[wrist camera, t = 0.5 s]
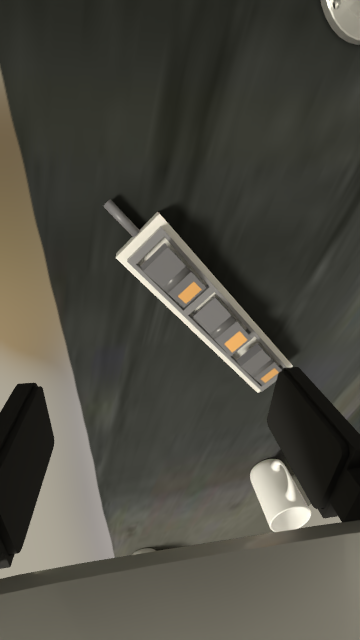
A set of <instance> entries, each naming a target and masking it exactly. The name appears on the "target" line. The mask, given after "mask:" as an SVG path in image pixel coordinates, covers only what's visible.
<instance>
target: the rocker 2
mask: <svg viewBox="0 0 360 640" xmlns="http://www.w3.org/2000/svg"><path fill="white" fill-rule="evenodd" d="M193 317H194V319H195V320H196V321H197V322H198V323H199V324H200V325H201V326H202V327H203V328H204V329H205V330H206V331H207V332H208V333H209V334H210V336H211V337H212V338H213V339H214V340H215V341H216V342H217V343H218V344H219V345H220V346H221V347H222V348H223V349H224V350H225V351H226V353H227V354H228V355H229V356H230V357H231V356H232V355H233V354H234V353H236V352H237V351H238V350H239V349H240V348H242V347H243V346H244V345H245V344H247V343H248V342H249V341H250V340H251V339H252V338H251V336H250V335H249V334H248V333H247V332H246V331H245V330H244V328H243V327H242V326H241V325H240V324H239V323H238V322H237V321H236V320H235V318H234V317H233V316H232V315H231V314H230V313H229V312H228V311H227V310H226V308H225V307H224V306H223V305H222V304H221V303H220V302H219V301H218V300H217V299H216V297H215V296H213V297H212V298H210V299H209V300H208V301H207V302H206V303H205V304H204V305H203V306H201V307H200V308H199V309H198V310H197V311H196V312H195V313H193Z"/></svg>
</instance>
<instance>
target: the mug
mask: <svg viewBox="0 0 360 640" xmlns="http://www.w3.org/2000/svg"><path fill="white" fill-rule="evenodd" d="M250 479H251V482H252V485H253V487H254V490H255V492H256V495H257V497H258V499H259V502H260V504H261V507H262V509H263V512H264V514H265V516H266V519H267V521H268V524H269V526H270V529H271V530H272V531H274V532H280V531H286V530H293V529H298V528H300V527H301V526H303V525H304V524H305V523H306V522H307V521H308V520H309V519H310V517H311V511H310V509H309V507H308V505H307V504H306V502H305V500H304V498H303V496H302V495H301V493H300V491H299V489H298V488H297V486H296V484H295V482H294V480H293V479H292V477H291V475H290V473H289V471H288V470H287V468H286V466H285V465H284V463H283V462H282V461H281V460H279V459H267V460H263V461H261V462H259V463H258V464H256V465H255V466H254V467H253V469H252V470H251V473H250Z"/></svg>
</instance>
